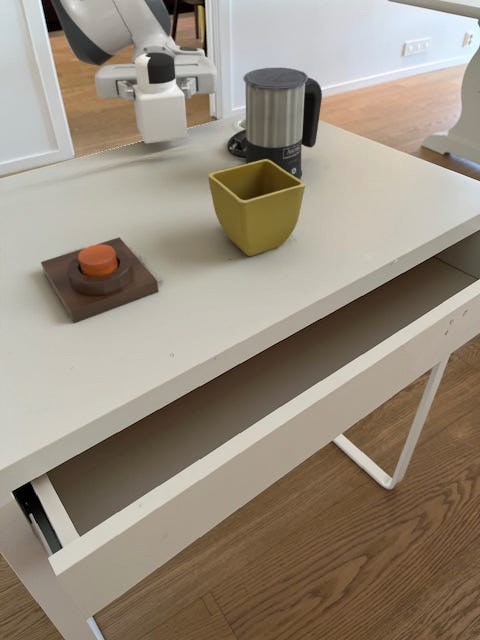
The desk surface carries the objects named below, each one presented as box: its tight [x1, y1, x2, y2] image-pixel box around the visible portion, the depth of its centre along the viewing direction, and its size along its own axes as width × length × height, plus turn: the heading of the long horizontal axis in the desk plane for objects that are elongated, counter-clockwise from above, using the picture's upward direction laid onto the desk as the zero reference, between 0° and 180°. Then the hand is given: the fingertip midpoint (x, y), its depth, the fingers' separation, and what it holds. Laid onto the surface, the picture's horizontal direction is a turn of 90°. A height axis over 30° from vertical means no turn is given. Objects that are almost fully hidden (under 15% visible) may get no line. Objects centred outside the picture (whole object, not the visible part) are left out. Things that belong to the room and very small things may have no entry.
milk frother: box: [226, 67, 323, 180], centre depth 79 cm, size 14×16×15 cm
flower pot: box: [207, 159, 306, 257], centre depth 63 cm, size 9×9×9 cm
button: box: [78, 243, 118, 277], centre depth 57 cm, size 4×4×2 cm
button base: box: [40, 237, 160, 324], centre depth 59 cm, size 11×10×4 cm
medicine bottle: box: [132, 52, 188, 144], centre depth 82 cm, size 7×7×12 cm
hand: (158, 94), depth 81 cm, fingers closed on medicine bottle, 7 cm apart
